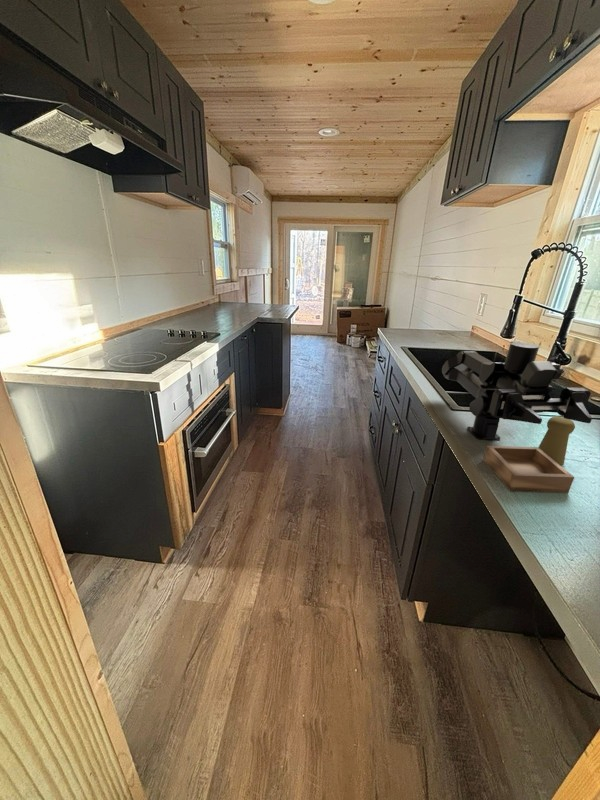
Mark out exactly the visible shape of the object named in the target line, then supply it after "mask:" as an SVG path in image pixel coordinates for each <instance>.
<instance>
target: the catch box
mask: <svg viewBox="0 0 600 800" xmlns="http://www.w3.org/2000/svg"><path fill="white" fill-rule="evenodd" d="M538 447H539V446H515V445H514V446H511V445H510V446H508V445H507V446H506V445H486V449H485V452H484V457H483V459H482V460H483V462H484V463H485V464H486V465H487V466H488V467H489V468H490V469H491V471H492V472H493V473H494V474H495V475H496V476H497V477H498V479H499V478H500V479H499V480H500V481H501V482H502V484H503V485H504V486H505V487H506V488H507V489H508V490H509V491H510V492H522V493H523V492H525V493H527V492H528V493H529V492H530V493H555V494H556V493H558V494H559V493H560V494H561V493H562V494H565V493H566V494H569V492H570V490H571V488H572V484H573V482H574V479H575V476H574V475H572V473H570V472H569V471H568V470H566V469H565V468H564V467H563V466H562V465H559V464H558V463H557V462H555V461H554V460H553V459H552V458H550V457H549V456H548V455H547V454H546V453H544V452H543V451H542V450H541V449H539V448H538Z"/></svg>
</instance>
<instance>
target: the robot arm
mask: <svg viewBox="0 0 600 800" xmlns="http://www.w3.org/2000/svg"><path fill="white" fill-rule="evenodd" d="M539 349H540V345H538V344H535V343H530V342H529V343H528V342H527V343H526V342H521V341H517V340H516V341H515V340H513V341H510V343H509V346H508V350H507V353H506V358H505V361H504V362H494V361H492V360H490V359H488V358H486V357H485V356H482V355H481V354H479V353H478V352H477V351H475V350H461V351H459V352H458V353H457V354H456V355H454V356H452V357H450V358H448V359H447V360H445V362H444V364H443V365H442V367H441V373H442V375H443V377H444V378H445V379H447V380H450V381H454V382H457V383H459V384H460V386H462V387H463V388H464V389H465V390H466V391H467V392H468V393H470V394H471V395H472V397H474V398H475V399H473V400H472V401H471V402H469V408H468V409H469V412H471V414H472V415H473V416H474V421H473V424H472V426H467V430H468V431H469V432H470V434H471V435H472V436H473V437H474V438H476V439H477V440H501V436H499V435H498V434H497V433H498V429H499V423H500V420H501V419H502V420H510V421H518V422H523V423H530V424H537V425H541V424H542V423H543V419H542V417H541V416H540V415H539V414H538V413H543V412H544V410H545V411H548V410H552V411H553V410H555V411H556V412H557V414H558V415H559V416H560V417H564V418H565V419H570V420H572V421H576V422H580V423H585V424H591V422H592V420H593V419H592V416H591V415H590V413H589V411H588V409H586V408H587V405H588V403H589V399H590V396H591V395H592V394H591V391H590V390H588V389H586V388H584V387H565V388H564V389H561V392H560V395H559V397H557V398H556V397H554V398H552V397H551V395H550V394H549V393H552V390H553V387H554V386H552V385H550V384H552V382H553V381H558V380H560V377H561V376H562V375H563V373H564V369H563V367H562V366H561V364H560V363H559V364H558V363H556V362H554V361H553V362H552V361H549V360H539V361H538V360H537V361H536V358H537V355H538V351H539ZM475 373H476V374H478V375H476V374H475Z"/></svg>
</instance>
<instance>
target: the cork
mask: <svg viewBox="0 0 600 800" xmlns="http://www.w3.org/2000/svg"><path fill="white" fill-rule="evenodd" d="M546 427H547V430H546V433H545V434H544V436H543V438H542V439H541V441H540V443H539V445H538V446H537V447H538V448H539V449H541V450H542V451H543V452H544V453H546V454H547V455H548V456H549V457H550V458H552V459H553V460H554V461H555V462H557V463H558V464H559V465H560V466H562V465H564V464H565V460H566V454H567V449H568V443H569V442H568V441H569V439H570V434H572V433H573V432H574V430H575V429H576V424H575V423H574V420H570V419H565V418H564V416H560V415H559V416H552V417H550V418H549V419H548V420H547V422H546Z"/></svg>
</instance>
